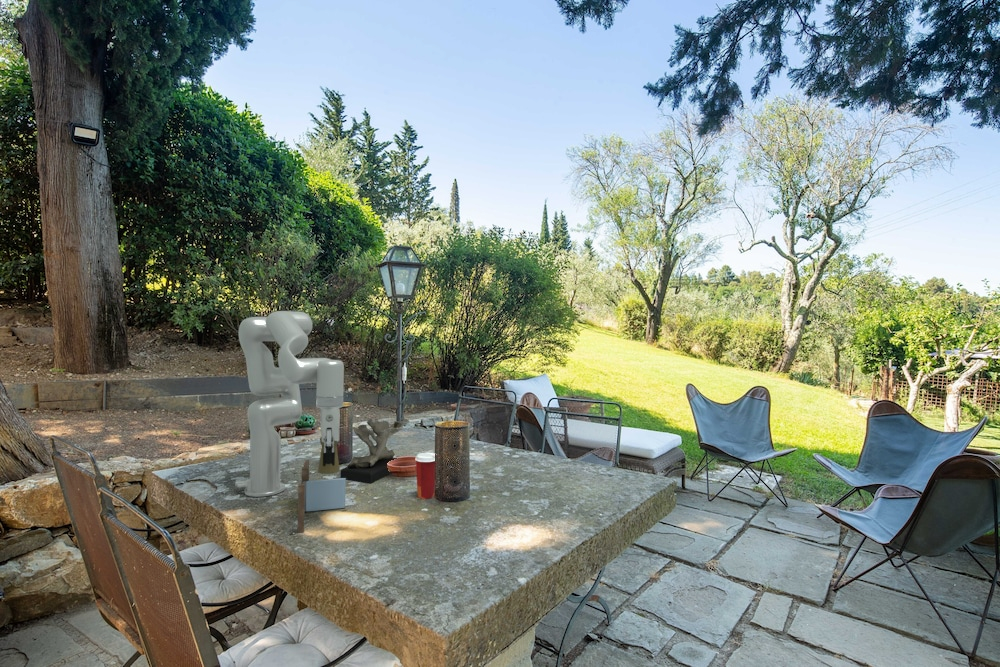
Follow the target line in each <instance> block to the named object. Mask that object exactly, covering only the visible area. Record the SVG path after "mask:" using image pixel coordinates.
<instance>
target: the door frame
mask: <svg viewBox="0 0 1000 667" xmlns="http://www.w3.org/2000/svg"><path fill="white" fill-rule="evenodd" d="M304 460H305V461H304V464H303V467H301V483H298V486H297V534H303V533H304V532H305V512H304V508H305V484H303V481H310V459H304Z"/></svg>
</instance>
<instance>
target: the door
mask: <svg viewBox="0 0 1000 667" xmlns="http://www.w3.org/2000/svg"><path fill="white" fill-rule="evenodd" d="M346 481H347V480H346V478H340V477H339V478H329V479H316V480H315V479H314V480H309V481H303V484H305V508H304V513H305V512H315V511H322V510H337V509H343V508H344V509H345V508H346Z"/></svg>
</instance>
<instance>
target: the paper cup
mask: <svg viewBox="0 0 1000 667" xmlns="http://www.w3.org/2000/svg"><path fill="white" fill-rule="evenodd" d="M435 454H436V453H434V452H422V453H421V452H420V453H417V454H416V456H415V459H414V460H415V464H416V465H415V469H416V489H417V490H416V493H417V498H418V499H422V500H429V499H432V498H434V497H435V493H434V491H436V480H435Z"/></svg>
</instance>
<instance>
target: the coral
mask: <svg viewBox="0 0 1000 667" xmlns="http://www.w3.org/2000/svg"><path fill="white" fill-rule="evenodd" d="M409 423H410V419H407V418H402V421H401V420H399V421H397V420H396V421H394V422H393V423H391V424H390V423H389V421H387V420H381V421H378V420H377V419H376V418H374V421H373V419H372V418H369V419H368V420H367V421H366V424H360V425H358V426H357V428H355V427H353V432H354V433H355V435H356V436H358V438H359V439H360V440H361V441H362V442H363V443H364V444H366V445H367V447H368V450H369V454H368V455H364V456H353V457H351V460H350V462H349V463H348V464H347V465H346V467H343V468H342V469H340V477H339V478H346V481H351V482H356V483H357V482H358V483H363V484H368V485H369V484H373V483H375V482H377V481H379V480H381V479H383V478H385V477H387V476H389V475H392V474H393V472H389V471H388V468H387V463H388V462H389V461H391V460H394V459H397V458H398V457H395V452H394V450H393V449H390V450H388V448H387V442H388V440H389V439H390V437H391V436H393V435H394V434H396V433H399V432H400V431H402V429H403V427H404V426H405V425H407V424H409ZM367 426H369V427H370V428H371V429H368V428H367ZM370 436H371V438H372V440H373V441H375V443H376V444H375V445H374V442H373V441H372V440H371V439H370Z"/></svg>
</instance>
